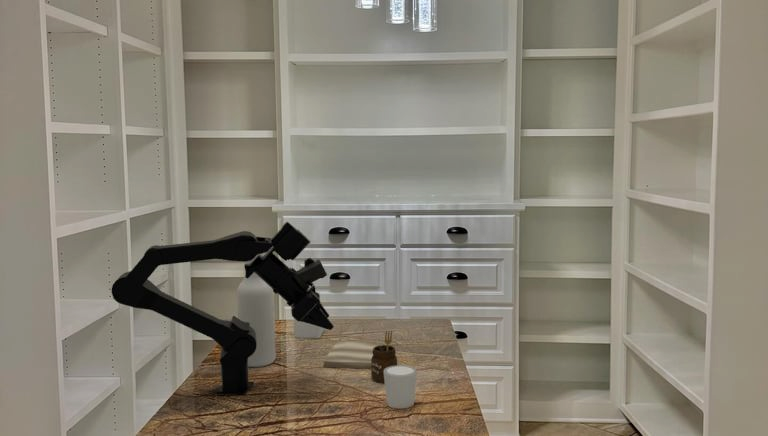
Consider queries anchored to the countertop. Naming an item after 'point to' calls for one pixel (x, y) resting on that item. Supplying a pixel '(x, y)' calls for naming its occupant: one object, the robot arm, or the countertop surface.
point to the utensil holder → (382, 358)
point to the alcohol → (258, 316)
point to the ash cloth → (351, 354)
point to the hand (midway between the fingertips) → (330, 322)
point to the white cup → (400, 386)
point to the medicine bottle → (307, 328)
